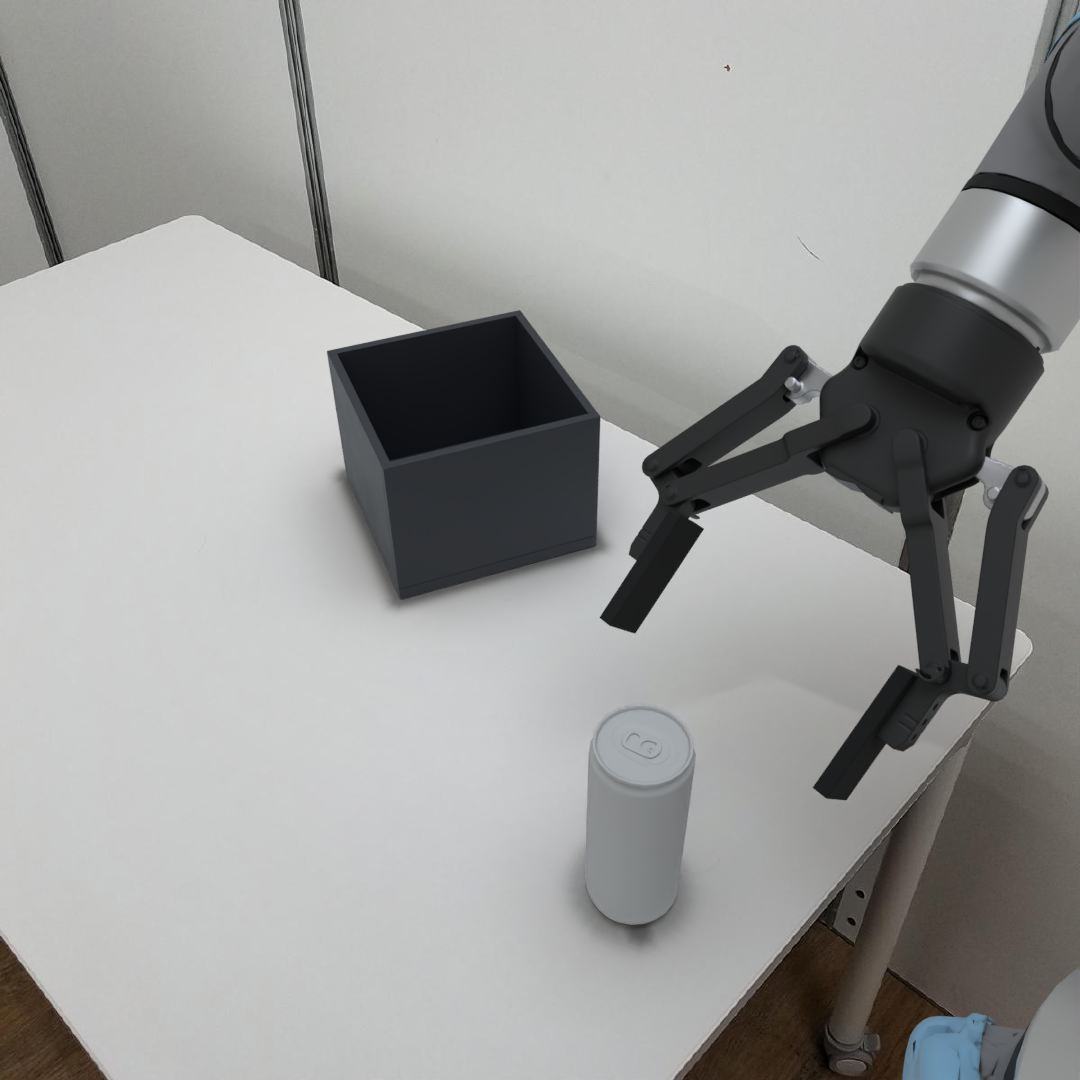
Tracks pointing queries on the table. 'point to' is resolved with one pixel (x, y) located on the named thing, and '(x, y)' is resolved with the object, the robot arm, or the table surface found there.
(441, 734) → the table surface
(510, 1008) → the table surface
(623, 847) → the beverage can
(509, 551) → the trash bin
